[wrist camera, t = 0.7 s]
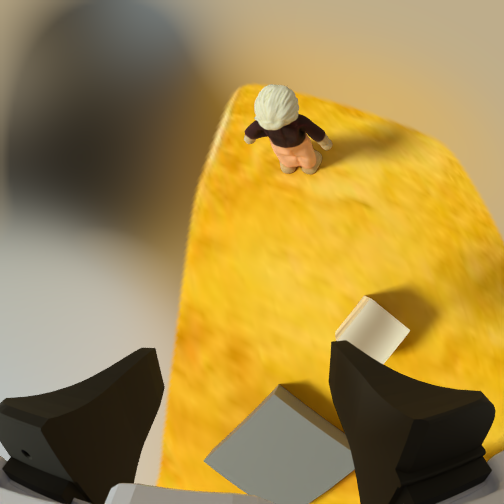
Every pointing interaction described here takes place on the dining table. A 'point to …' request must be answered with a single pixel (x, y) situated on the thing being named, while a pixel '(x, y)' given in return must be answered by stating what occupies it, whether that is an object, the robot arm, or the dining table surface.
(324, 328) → the dining table surface
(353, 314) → the cream cube
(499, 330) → the dining table surface
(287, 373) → the dining table surface
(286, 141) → the grandmother figurine
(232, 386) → the dining table surface
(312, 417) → the base plinth
